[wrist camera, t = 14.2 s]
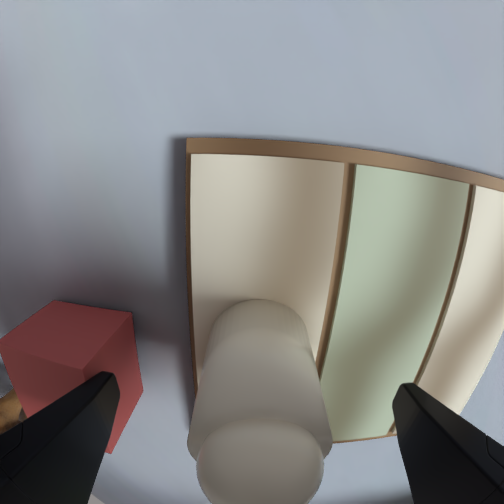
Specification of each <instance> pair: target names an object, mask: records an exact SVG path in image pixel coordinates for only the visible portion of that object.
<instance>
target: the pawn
mask: <svg viewBox="0 0 504 504" xmlns="http://www.w3.org/2000/svg"><path fill="white" fill-rule="evenodd" d="M332 444H333V438H332V433H331V429H330V424H329V420H328V415H327V411H326V407H325V402H324V398H323V394H322V389H321V385H320V381H319V377H318V372H317V368H316V364H315V360H314V356H313V352H312V348H311V344H310V340H309V336H308V332H307V328H306V325H305V323H304V321H303V320H302V318H301V317H300V316H299V315H298V314H297V313H296V312H295V311H294V310H293V309H291V308H290V307H288V306H286V305H284V304H282V303H279V302H276V301H271V300H264V299H254V300H247V301H243V302H240V303H237V304H234V305H233V306H231V307H229V308H227V309H226V310H224V311H223V312H222V313H221V314H220V315H219V316H218V317H217V319H216V320H215V322H214V323H213V325H212V328H211V331H210V335H209V340H208V344H207V349H206V353H205V358H204V363H203V367H202V372H201V377H200V381H199V386H198V391H197V396H196V400H195V405H194V410H193V415H192V420H191V425H190V430H189V434H188V440H187V446H188V450H189V452H190V454H191V455H192V457H193V458H194V459H195V460H196V461H197V463H196V470H197V478H198V481H199V484H200V487H201V489H202V491H203V493H204V494H205V496H206V497H207V498H208V500H209V501H210V502H211V503H212V504H308V503H309V501H310V500H311V499H312V498H313V497H314V495H315V494H316V492H317V491H318V489H319V486H320V484H321V481H322V478H323V473H324V459H325V457H326V456H327V455H328V454H329V452H330V450H331V448H332Z"/></svg>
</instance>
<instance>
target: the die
mask: <svg viewBox="0 0 504 504" xmlns="http://www.w3.org/2000/svg"><path fill="white" fill-rule="evenodd" d="M0 353H1V356H2V359H3V362H4V365H5V367H6V370H7V372H8V375H9V378H10V380H11V383H12V385H13V387H14V390H15V392H16V394H17V397H18V399H19V401H20V403H21V405H22V408H23V410H24V412H25V414H26V416H27V418H29V417H30V416H32V415H33V414H35V413H36V412H38V411H40V410H41V409H43V408H44V407H46V406H48V405H49V404H51V403H52V402H54V401H55V400H57V399H59V398H60V397H62V396H63V395H65V394H66V393H68V392H70V391H71V390H73V389H74V388H76V387H77V386H79V385H80V384H82V383H84V382H85V381H87V380H88V379H90V378H91V377H93V376H94V375H96V374H98V373H99V372H101V371H107V372H112V373H114V374H115V376H116V379H117V383H118V386H119V389H120V400H119V403H118V407H117V411H116V416H115V420H114V424H113V428H112V432H111V436H110V439H109V442H108V445H107V448H106V450H105V452H106V453H110V454H111V453H112V451H113V449H114V447H115V445H116V443H117V441H118V439H119V437H120V435H121V433H122V431H123V429H124V428H125V426H126V424H127V422H128V420H129V418H130V416H131V414H132V412H133V410H134V408H135V406H136V404H137V402H138V400H139V399H140V397H141V395H142V393H143V385H142V380H141V374H140V368H139V362H138V356H137V349H136V342H135V335H134V327H133V318H132V313H131V312H124V311H117V310H110V309H103V308H97V307H91V306H84V305H78V304H73V303H67V302H61V301H56V300H54V301H52V302H51V303H49V304H48V305H46V306H45V307H43V308H42V309H41V310H39V311H38V312H36V313H35V314H34V315H32V316H31V317H29V318H28V319H27V320H25V321H24V322H23V323H21V324H20V325H18V326H17V327H16V328H14V329H13V330H12V331H10V332H9V333H8V334H6V335H5V336H4V337H2V338H1V339H0Z"/></svg>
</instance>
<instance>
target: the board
mask: <svg viewBox="0 0 504 504" xmlns="http://www.w3.org/2000/svg"><path fill="white" fill-rule="evenodd" d="M186 263H187V289H188V310H189V326H190V341H191V355H192V367H193V378H194V389H195V399H196V396H197V391H198V386H199V381H200V377H201V372H202V367H203V363H204V358H205V353H206V349H207V344H208V340H209V335H210V331H211V328H212V325H213V323H214V322H215V320H216V319H217V317H218V316H219V315H220V314H221V313H222V312H223V311H224V310H226V309H227V308H229V307H231V306H233V305H234V304H237V303H240V302H243V301H247V300H254V299H264V300H271V301H276V302H279V303H282V304H284V305H286V306H288V307H290V308H291V309H293V310H294V311H295V312H296V313H297V314H298V315H299V316H300V317H301V318H302V320H303V321H304V323H305V325H306V328H307V332H308V336H309V340H310V344H311V348H312V352H313V356H314V360H315V364H316V368H317V372H318V377H319V381H320V385H321V389H322V394H323V398H324V402H325V407H326V411H327V415H328V420H329V424H330V429H331V433H332V438H333V443H344V442H353V441H362V440H370V439H377V438H384V437H390V436H396V435H397V432H396V426H395V420H394V415H393V410H392V402H393V399H394V397H395V395H396V392H397V390H398V388H399V386H400V385H401V384H402V383H409V382H413V383H415V384H416V385H417V386H419V387H420V388H422V389H423V390H424V391H426V392H427V393H428V394H430V395H431V396H433V397H434V398H435V399H437V400H438V401H440V402H441V403H442V404H444V405H445V406H447V407H448V408H449V409H451V410H452V411H454V412H455V413H457V414H458V415H459V414H460V413H461V411H462V410H463V408H464V406H465V405H466V403H467V401H468V400H469V398H470V396H471V395H472V393H473V391H474V389H475V388H476V386H477V384H478V382H479V380H480V378H481V377H482V375H483V373H484V371H485V369H486V367H487V365H488V363H489V361H490V359H491V357H492V355H493V353H494V350H495V348H496V346H497V344H498V342H499V339H500V337H501V335H502V332H503V330H504V180H503V179H499V178H496V177H492V176H489V175H485V174H482V173H478V172H474V171H470V170H466V169H462V168H458V167H454V166H450V165H445V164H441V163H436V162H432V161H427V160H422V159H417V158H412V157H406V156H401V155H395V154H389V153H383V152H377V151H370V150H364V149H357V148H349V147H341V146H333V145H324V144H314V143H304V142H292V141H278V140H262V139H239V138H187V142H186Z"/></svg>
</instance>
